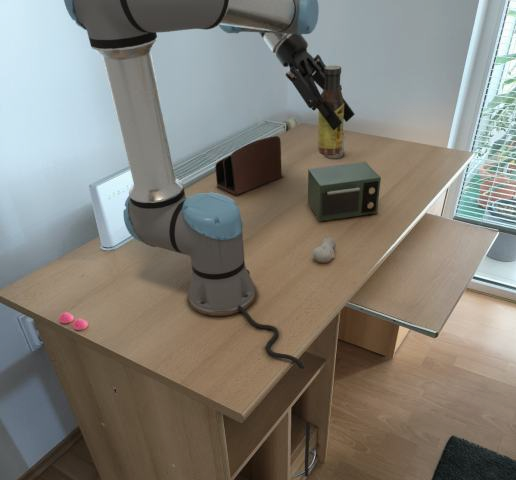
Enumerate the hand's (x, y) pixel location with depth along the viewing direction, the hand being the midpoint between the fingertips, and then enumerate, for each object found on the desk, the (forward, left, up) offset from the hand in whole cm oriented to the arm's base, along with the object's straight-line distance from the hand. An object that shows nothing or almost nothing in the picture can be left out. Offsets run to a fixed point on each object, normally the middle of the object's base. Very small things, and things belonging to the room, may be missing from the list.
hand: (344, 122), depth 125 cm
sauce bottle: (+3, +3, -8) cm, 9 cm away
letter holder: (+34, +19, -27) cm, 47 cm away
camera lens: (+47, -14, -27) cm, 56 cm away
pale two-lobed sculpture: (-18, +9, -27) cm, 33 cm away
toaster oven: (+5, -3, -27) cm, 27 cm away
